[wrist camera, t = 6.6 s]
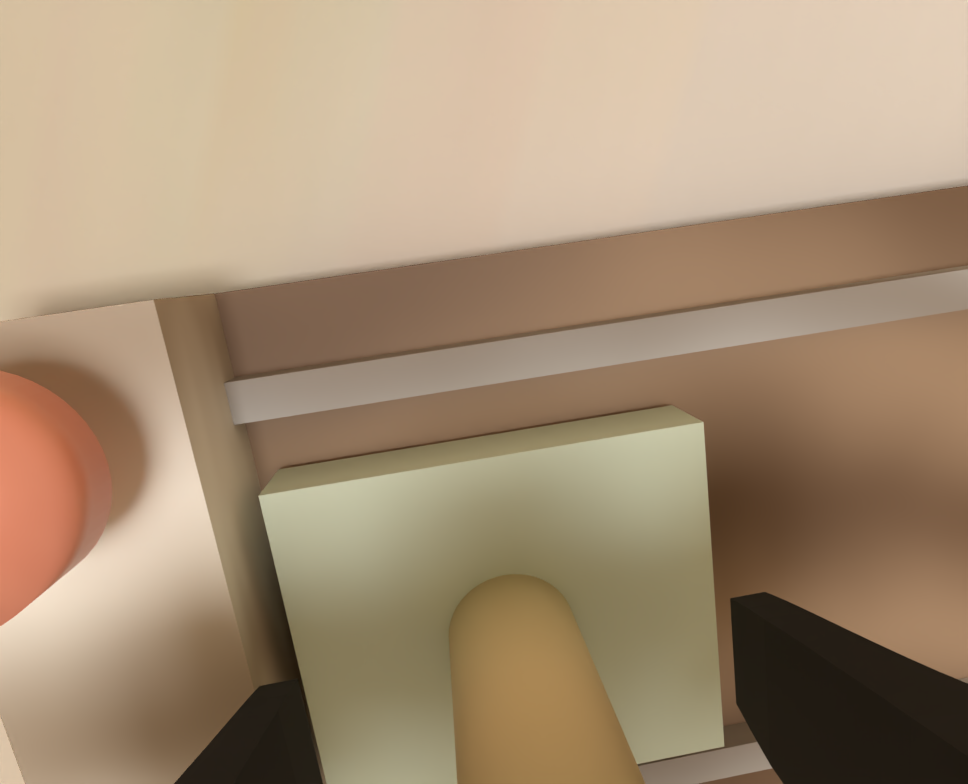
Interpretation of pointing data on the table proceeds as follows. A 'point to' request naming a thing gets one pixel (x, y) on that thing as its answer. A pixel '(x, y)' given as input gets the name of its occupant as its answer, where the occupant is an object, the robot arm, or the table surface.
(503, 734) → the carriage
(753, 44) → the table surface
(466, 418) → the rail
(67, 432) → the button
